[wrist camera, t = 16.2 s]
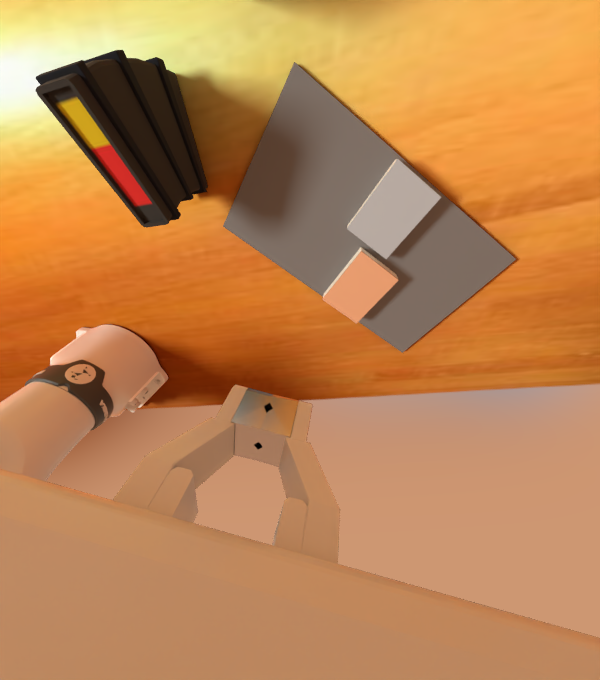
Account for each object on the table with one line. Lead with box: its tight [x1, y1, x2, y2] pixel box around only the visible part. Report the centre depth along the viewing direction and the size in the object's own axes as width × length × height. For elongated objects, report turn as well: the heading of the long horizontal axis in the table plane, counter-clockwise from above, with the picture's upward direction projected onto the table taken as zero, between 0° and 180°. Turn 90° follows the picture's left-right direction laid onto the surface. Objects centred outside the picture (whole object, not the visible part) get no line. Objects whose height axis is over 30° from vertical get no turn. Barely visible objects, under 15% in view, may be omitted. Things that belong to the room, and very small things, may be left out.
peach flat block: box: [322, 247, 398, 324], centre depth 35 cm, size 8×2×6 cm
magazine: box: [36, 50, 208, 227], centre depth 26 cm, size 4×13×15 cm, turn 9°
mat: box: [224, 62, 516, 353], centre depth 33 cm, size 18×32×1 cm, turn 57°
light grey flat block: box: [347, 159, 441, 259], centre depth 30 cm, size 8×2×6 cm
